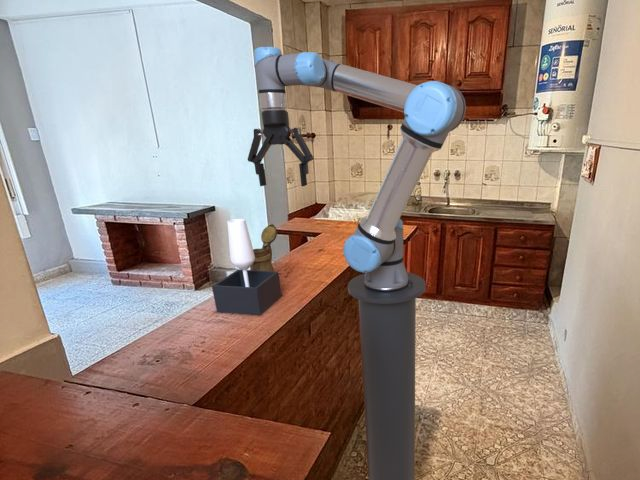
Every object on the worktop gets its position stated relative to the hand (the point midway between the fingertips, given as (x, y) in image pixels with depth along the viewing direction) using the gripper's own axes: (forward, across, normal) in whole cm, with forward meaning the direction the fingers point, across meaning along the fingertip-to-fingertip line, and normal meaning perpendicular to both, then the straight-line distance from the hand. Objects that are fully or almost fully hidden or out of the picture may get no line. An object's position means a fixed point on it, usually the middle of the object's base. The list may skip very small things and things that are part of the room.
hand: (283, 185), depth 122 cm
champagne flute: (+31, +6, +19) cm, 37 cm away
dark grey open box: (+32, +6, +19) cm, 37 cm away
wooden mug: (+32, +10, 0) cm, 33 cm away
